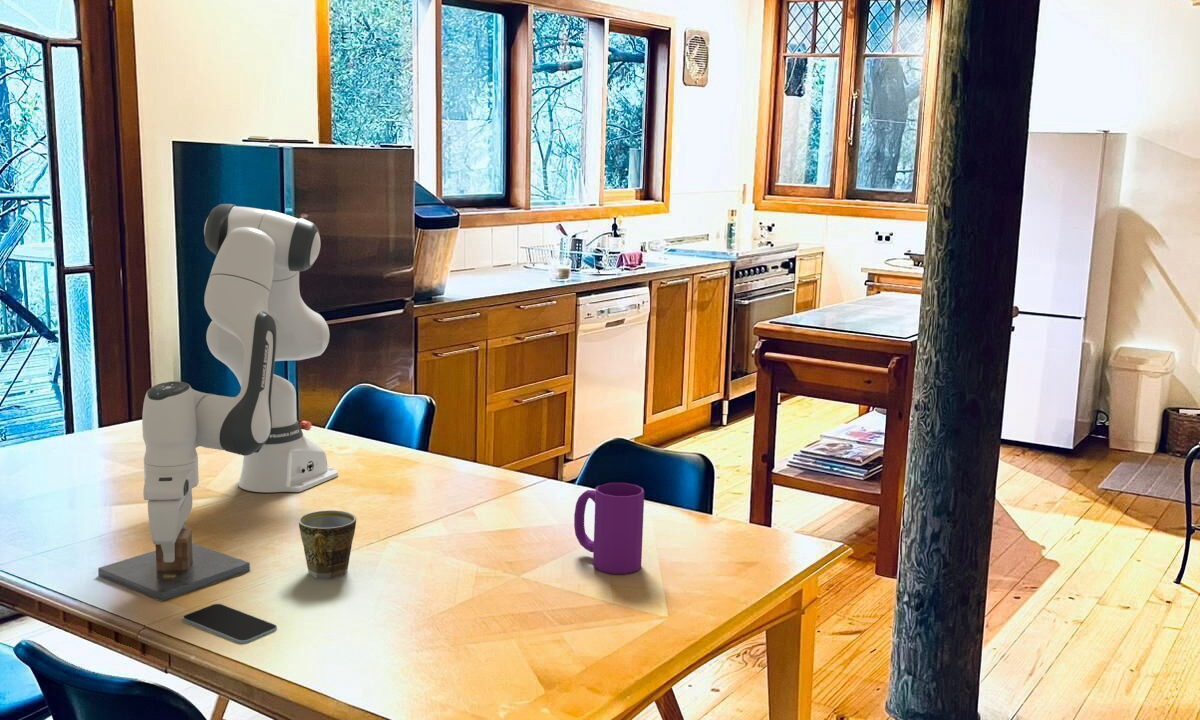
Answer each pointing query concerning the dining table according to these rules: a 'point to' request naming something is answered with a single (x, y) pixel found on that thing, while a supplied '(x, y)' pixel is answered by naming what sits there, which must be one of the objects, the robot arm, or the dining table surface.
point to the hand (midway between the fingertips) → (174, 551)
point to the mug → (613, 527)
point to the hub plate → (173, 573)
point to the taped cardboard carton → (177, 553)
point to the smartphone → (229, 623)
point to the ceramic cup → (327, 542)
